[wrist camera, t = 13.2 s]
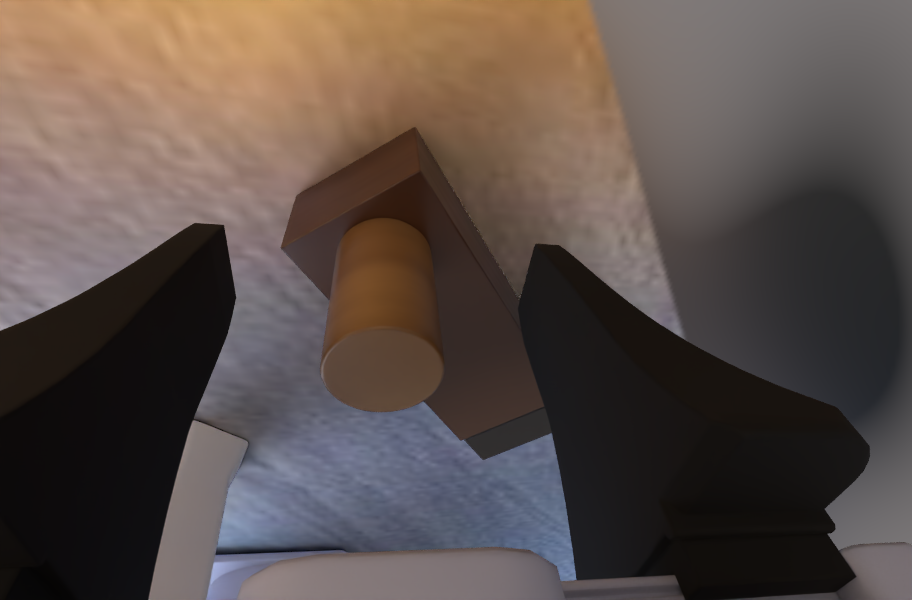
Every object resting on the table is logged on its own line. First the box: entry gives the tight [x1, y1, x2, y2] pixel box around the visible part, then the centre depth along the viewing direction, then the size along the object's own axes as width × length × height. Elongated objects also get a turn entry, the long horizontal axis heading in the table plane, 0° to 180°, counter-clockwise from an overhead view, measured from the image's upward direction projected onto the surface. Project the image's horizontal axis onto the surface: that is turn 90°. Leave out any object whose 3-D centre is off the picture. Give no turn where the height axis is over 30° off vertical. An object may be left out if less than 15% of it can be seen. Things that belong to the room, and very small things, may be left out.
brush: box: [281, 127, 552, 460], centre depth 15 cm, size 11×4×7 cm, turn 28°
